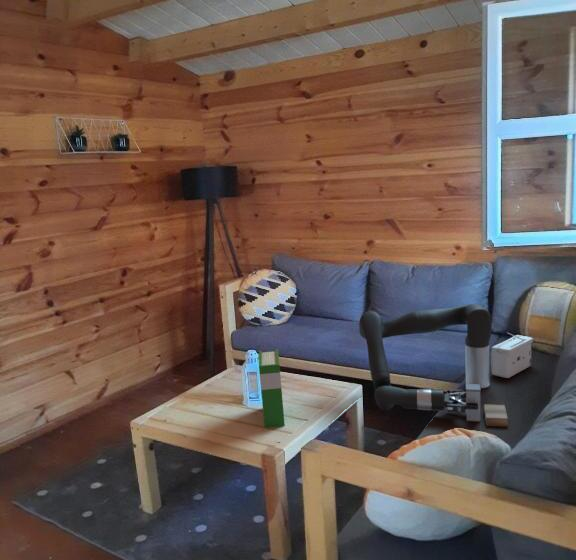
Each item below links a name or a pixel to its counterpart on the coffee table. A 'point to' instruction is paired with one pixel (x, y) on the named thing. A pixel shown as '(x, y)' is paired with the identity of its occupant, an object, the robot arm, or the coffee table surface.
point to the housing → (473, 401)
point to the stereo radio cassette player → (511, 356)
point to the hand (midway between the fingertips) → (477, 401)
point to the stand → (495, 415)
